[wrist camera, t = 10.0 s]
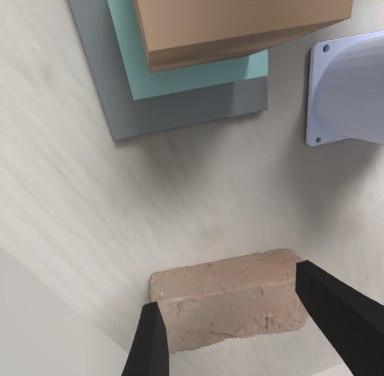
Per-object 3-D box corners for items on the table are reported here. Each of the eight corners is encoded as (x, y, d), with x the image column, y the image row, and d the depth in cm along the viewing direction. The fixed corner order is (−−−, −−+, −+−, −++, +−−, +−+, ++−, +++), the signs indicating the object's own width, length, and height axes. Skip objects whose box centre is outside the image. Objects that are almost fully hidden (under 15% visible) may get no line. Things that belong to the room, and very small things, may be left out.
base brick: (224, -51, 13) (265, -129, 8) (234, 80, 16) (268, 75, 11) (104, -36, 12) (78, -111, 8) (138, 98, 15) (133, 100, 11)
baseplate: (255, -103, 13) (263, -117, 12) (261, 108, 18) (267, 109, 17) (46, -81, 12) (37, -95, 11) (115, 138, 17) (113, 140, 16)
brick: (157, 322, 26) (159, 366, 22) (147, 269, 23) (147, 309, 19) (283, 294, 29) (307, 329, 24) (292, 243, 25) (321, 273, 21)
